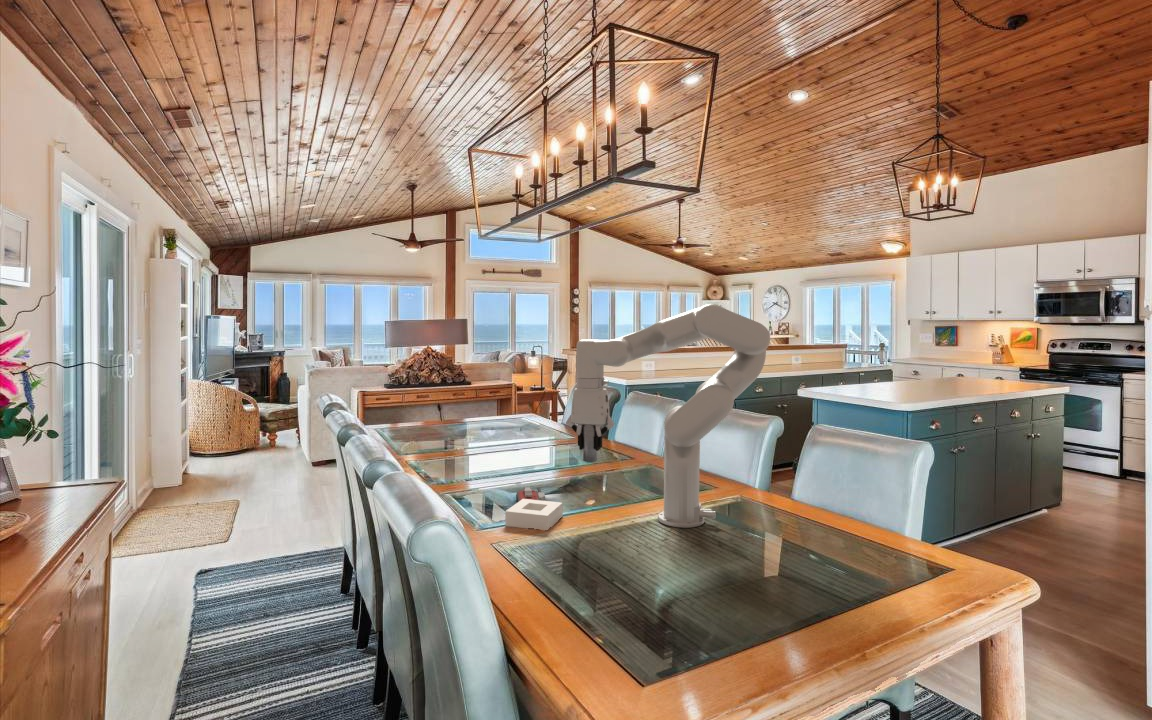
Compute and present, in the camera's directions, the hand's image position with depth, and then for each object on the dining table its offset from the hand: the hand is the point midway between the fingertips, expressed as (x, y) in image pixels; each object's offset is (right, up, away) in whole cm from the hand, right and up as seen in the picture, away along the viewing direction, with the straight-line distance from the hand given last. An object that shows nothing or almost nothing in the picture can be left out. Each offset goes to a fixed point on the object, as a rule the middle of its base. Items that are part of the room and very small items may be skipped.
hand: (590, 448), depth 167 cm
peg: (0, -3, 0) cm, 3 cm away
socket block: (-15, -19, -3) cm, 25 cm away
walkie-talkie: (-18, -19, +16) cm, 30 cm away
